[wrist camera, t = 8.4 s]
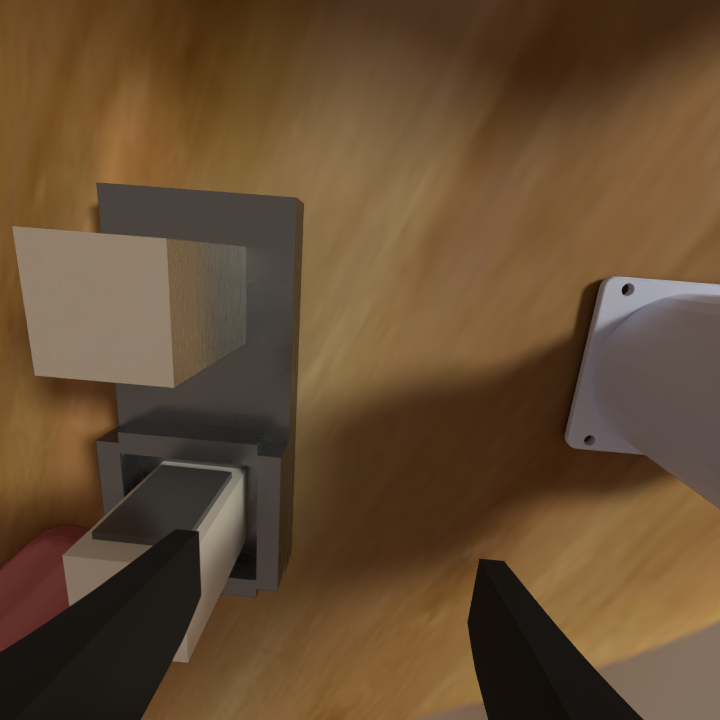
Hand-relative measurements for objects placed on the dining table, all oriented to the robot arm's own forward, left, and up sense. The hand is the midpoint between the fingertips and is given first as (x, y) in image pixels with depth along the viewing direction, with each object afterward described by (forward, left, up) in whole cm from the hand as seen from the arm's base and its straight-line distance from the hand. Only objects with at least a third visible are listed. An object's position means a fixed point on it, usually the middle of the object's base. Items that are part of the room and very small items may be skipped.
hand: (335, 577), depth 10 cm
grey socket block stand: (+7, -2, -9) cm, 12 cm away
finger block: (+7, +4, -8) cm, 11 cm away
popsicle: (+19, +14, -10) cm, 25 cm away
